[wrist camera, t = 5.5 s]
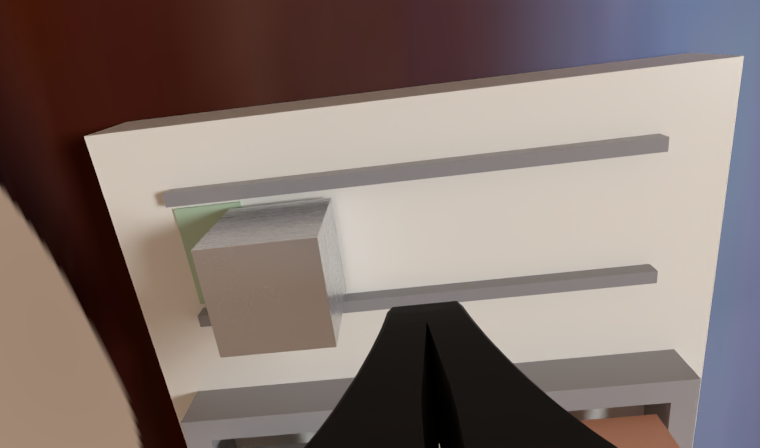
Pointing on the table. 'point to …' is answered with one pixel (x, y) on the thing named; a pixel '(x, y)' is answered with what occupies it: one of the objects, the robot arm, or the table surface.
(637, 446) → the terracotta button
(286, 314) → the slider knob
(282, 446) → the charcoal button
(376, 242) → the control panel
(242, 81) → the table surface
